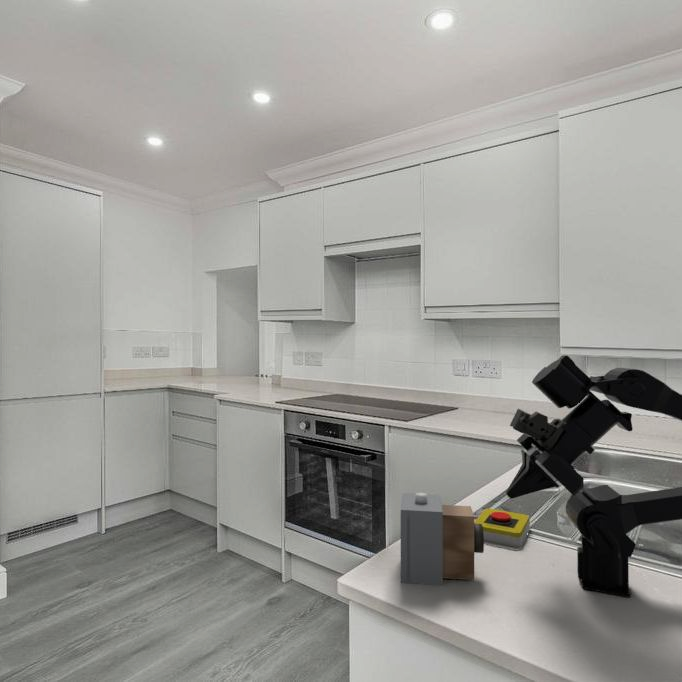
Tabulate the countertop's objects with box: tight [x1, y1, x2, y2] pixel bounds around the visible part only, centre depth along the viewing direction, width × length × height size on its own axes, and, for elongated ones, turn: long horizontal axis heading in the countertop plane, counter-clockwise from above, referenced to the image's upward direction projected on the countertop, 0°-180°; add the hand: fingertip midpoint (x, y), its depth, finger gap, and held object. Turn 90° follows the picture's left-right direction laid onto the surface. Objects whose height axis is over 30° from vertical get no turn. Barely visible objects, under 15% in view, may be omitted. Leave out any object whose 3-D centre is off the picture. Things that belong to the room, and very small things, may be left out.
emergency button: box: [474, 508, 531, 552], centre depth 96 cm, size 9×4×15 cm
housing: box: [400, 492, 444, 586], centre depth 80 cm, size 6×9×13 cm
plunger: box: [441, 504, 485, 581], centre depth 78 cm, size 6×5×10 cm
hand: (508, 495), depth 77 cm, fingers closed
